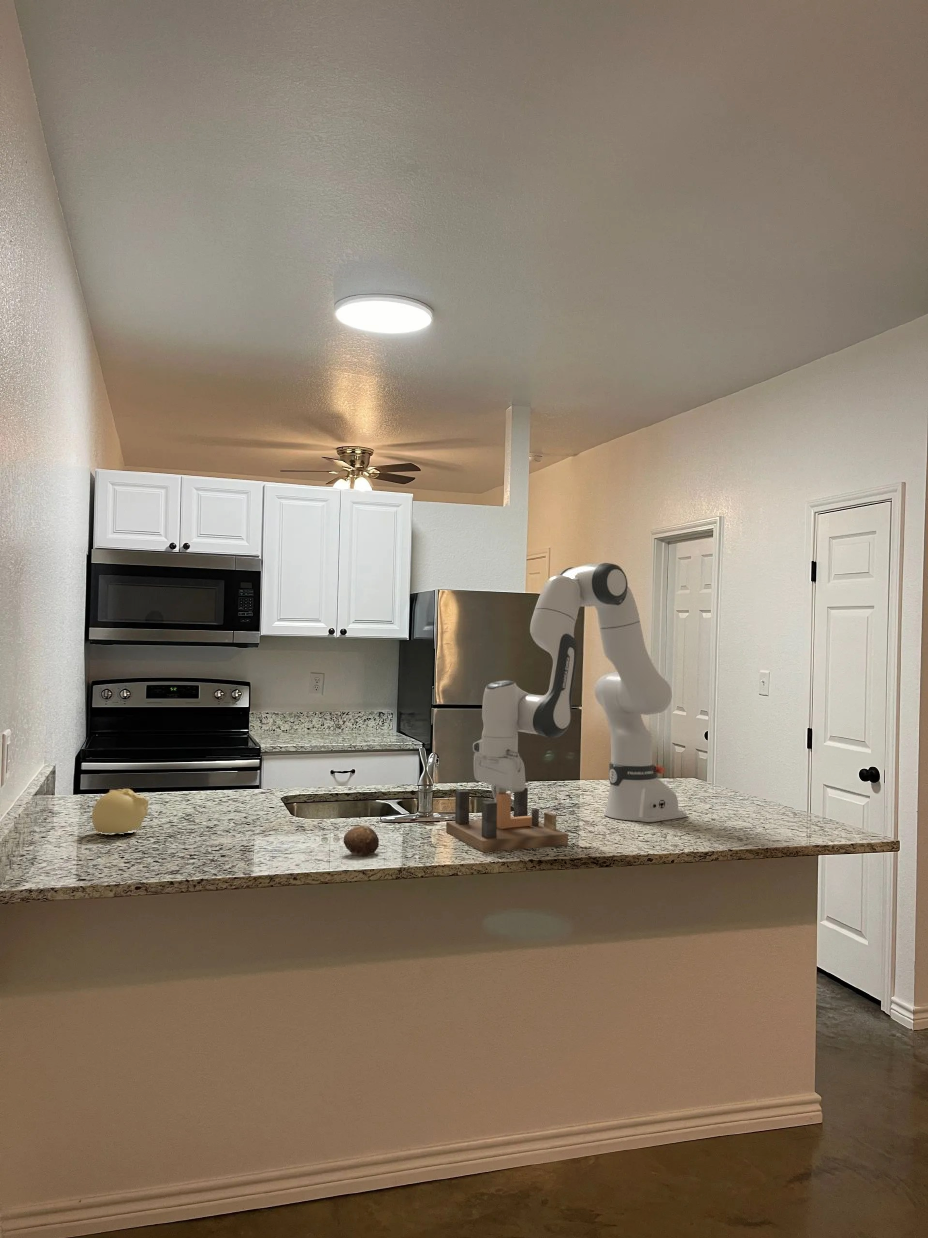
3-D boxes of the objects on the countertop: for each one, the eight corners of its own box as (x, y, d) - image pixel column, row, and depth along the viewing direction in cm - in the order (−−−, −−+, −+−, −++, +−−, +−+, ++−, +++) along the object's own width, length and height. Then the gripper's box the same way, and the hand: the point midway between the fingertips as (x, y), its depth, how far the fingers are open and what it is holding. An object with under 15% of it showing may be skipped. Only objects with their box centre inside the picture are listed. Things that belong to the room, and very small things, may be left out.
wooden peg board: (525, 825, 239) (526, 784, 239) (567, 844, 219) (568, 799, 219) (446, 832, 230) (446, 789, 230) (482, 852, 210) (482, 805, 210)
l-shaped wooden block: (527, 823, 228) (527, 791, 228) (532, 825, 226) (533, 792, 226) (495, 826, 224) (496, 793, 224) (501, 828, 222) (501, 795, 222)
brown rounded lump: (343, 833, 212) (352, 814, 209) (376, 846, 213) (385, 828, 210) (335, 857, 205) (344, 838, 202) (368, 871, 206) (378, 852, 203)
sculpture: (155, 831, 226) (155, 787, 226) (117, 841, 215) (118, 795, 216) (119, 827, 231) (120, 783, 231) (81, 836, 220) (82, 790, 220)
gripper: (532, 752, 218) (531, 811, 218) (491, 742, 237) (490, 797, 237) (509, 753, 216) (507, 813, 216) (469, 743, 234) (468, 798, 234)
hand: (498, 804), depth 226 cm, fingers closed
